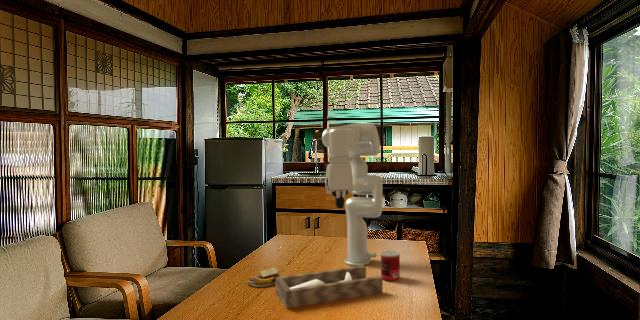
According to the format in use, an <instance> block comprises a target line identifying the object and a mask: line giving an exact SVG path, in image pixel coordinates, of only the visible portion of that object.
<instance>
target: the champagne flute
mask: <svg viewBox="0 0 640 320" xmlns="http://www.w3.org/2000/svg"><path fill="white" fill-rule="evenodd" d="M349 280H352V278H351V275H350V273H349V272H347V273H346V276H345V280H344V281H349ZM340 282H342V281H340ZM321 284H324V283H323V282H322V281H320V280H318V279H315V280H312V281H309V282H306V283H303V284H300V285H297V286H294V287H291V288H290V289H294V288H301V287H308V286H315V285H321Z"/></svg>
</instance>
